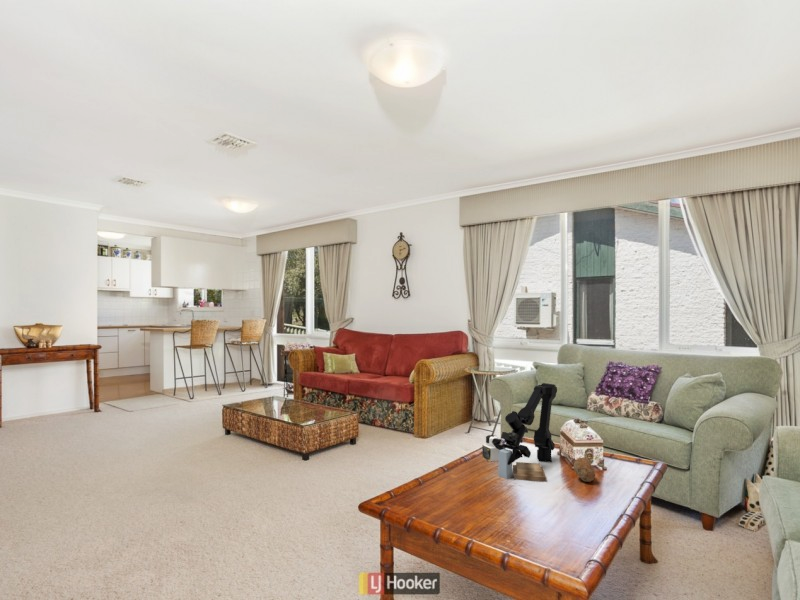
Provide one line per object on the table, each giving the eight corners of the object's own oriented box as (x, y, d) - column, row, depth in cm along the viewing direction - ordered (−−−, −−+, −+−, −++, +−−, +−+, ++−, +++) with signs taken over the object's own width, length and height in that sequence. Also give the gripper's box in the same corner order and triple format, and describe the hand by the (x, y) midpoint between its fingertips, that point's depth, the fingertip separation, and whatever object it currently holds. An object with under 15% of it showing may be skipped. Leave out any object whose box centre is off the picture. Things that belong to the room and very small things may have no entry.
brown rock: (598, 477, 213) (598, 456, 213) (593, 486, 203) (593, 463, 203) (577, 473, 218) (577, 452, 219) (571, 482, 208) (571, 459, 208)
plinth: (542, 470, 222) (542, 462, 222) (546, 481, 208) (546, 472, 208) (512, 468, 225) (512, 460, 225) (514, 479, 211) (514, 470, 211)
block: (504, 474, 218) (504, 448, 218) (512, 476, 214) (512, 450, 215) (498, 476, 215) (498, 450, 215) (506, 479, 211) (506, 452, 212)
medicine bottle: (482, 457, 241) (482, 435, 241) (493, 456, 244) (493, 433, 244) (490, 462, 234) (490, 438, 235) (501, 460, 237) (501, 436, 238)
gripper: (494, 421, 224) (479, 448, 217) (527, 429, 211) (513, 458, 203) (503, 434, 230) (490, 461, 222) (536, 442, 216) (523, 472, 208)
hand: (503, 463), depth 214 cm, fingers open, 5 cm apart
